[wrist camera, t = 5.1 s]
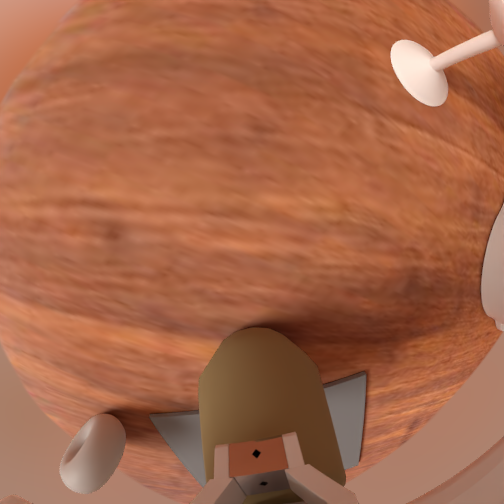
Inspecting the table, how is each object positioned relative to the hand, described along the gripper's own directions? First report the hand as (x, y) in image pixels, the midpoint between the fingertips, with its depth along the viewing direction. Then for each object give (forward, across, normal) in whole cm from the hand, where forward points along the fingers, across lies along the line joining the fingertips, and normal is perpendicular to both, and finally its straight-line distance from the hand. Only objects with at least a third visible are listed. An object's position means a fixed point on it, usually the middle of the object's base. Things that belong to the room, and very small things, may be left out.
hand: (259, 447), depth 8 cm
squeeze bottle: (+11, 0, +3) cm, 12 cm away
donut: (+11, +17, +9) cm, 22 cm away
